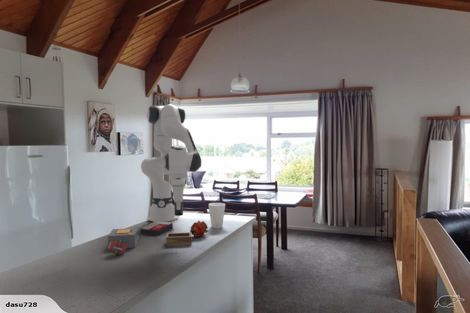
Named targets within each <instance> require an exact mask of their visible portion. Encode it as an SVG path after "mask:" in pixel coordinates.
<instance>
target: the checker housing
mask: <svg viewBox="0 0 470 313" xmlns="http://www.w3.org/2000/svg"><path fill="white" fill-rule="evenodd" d="M121 229H122V228H113V229H112V230H111V231H110V232H109V234H108V235H107V249H108V250H109V244H110V242H111V241H112V240H113V241H114V240H116V241H117V242H120V240H122V241H121V242H120V243H124V244H125V243H126V244H128V245H127V247H126V249H133V248H134V249H135V248H136V246H137V244H138V242H139V228H138V227H136V228H135V227H134V228H128V229H131V233H128V234H116V232H117V231H118V230H121Z"/></svg>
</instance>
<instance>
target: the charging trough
mask: <svg viewBox="0 0 470 313" xmlns="http://www.w3.org/2000/svg"><path fill="white" fill-rule="evenodd" d="M192 237H193V235H192V233H191V232H190V231H189V232H168V233H167V232H166V235H165V247H173V246H174V247H175V246H192V244H193V243H192V240H193V239H192Z"/></svg>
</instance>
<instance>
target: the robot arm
mask: <svg viewBox="0 0 470 313" xmlns="http://www.w3.org/2000/svg"><path fill="white" fill-rule="evenodd" d="M146 118H147V121H148V122H149V123H150V124H153V125H154V130H153V148H154V149H155V150H156V151H158V152H159V153H160V155H161V156H159V157H157V156H156V157H154V156H153V157H148V158H145V159H143V160H142V162H141V164H140V169H141V172H142V173H143V174H144V175H145V176H146V177H147V178H148V179H149V181H150V183H151V185H152V200H151V203H152V205H150V207H149V216H148V217H147V218H146V220H147V221H149V222H152V223H154V222H156V221H160V222H173V221H176V220H178V219H179V216H175V209H174V204H173V202H176V206H177V210H180V206H181V202H182V199H183V200H184V190H185V187H186V185H187V184H188V181H189V179H188V176H189V175H188V174H189V173H188V172H192V173H194V172H195V173H196V172H197V171H198V170H200V169H201V167H202V158H201V155H200V153H199V151H198V149H197V147H196V145H195V141H194V139H193V137H192V135H191V132H190V130H189V129H188V128H187V127H185V126H184V125H183V124H184V123H185V120H186V111H185V108H184V107H180V106H175V105H173V104H170V103H169V104H165V105H150V106H149V107H148V108H147V110H146ZM173 140H176V141H180V142H182V143H184V145H185V146H184V145H173ZM164 175H168V181H167V180H165V179H164V177H163V176H164Z"/></svg>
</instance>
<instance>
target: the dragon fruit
mask: <svg viewBox="0 0 470 313" xmlns="http://www.w3.org/2000/svg"><path fill="white" fill-rule="evenodd" d="M208 228H209V226H208V225H207V223H206V222H205V221H204V220H202V221H200V220H197V221H196V222H194V223H193V224H192V225H191V226H190V231H189V232H191V236H192V237H193V238H198V237H201V238H202V237H204V236H205V234H206V233H208V232H209V230H208Z"/></svg>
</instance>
